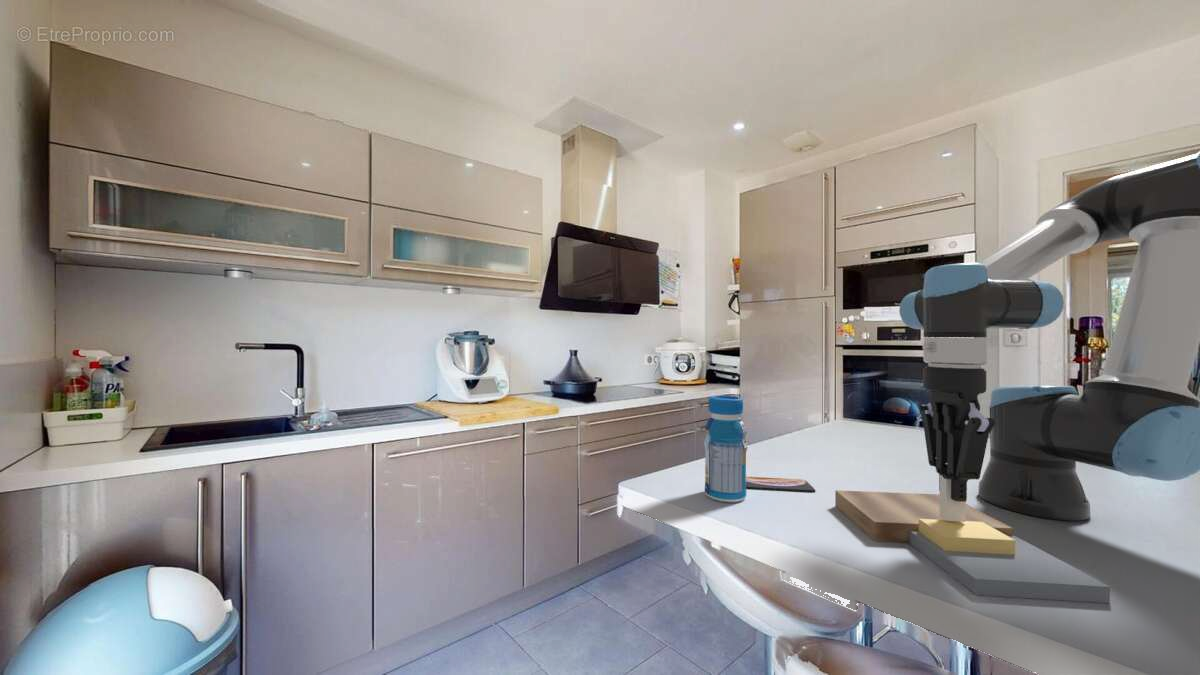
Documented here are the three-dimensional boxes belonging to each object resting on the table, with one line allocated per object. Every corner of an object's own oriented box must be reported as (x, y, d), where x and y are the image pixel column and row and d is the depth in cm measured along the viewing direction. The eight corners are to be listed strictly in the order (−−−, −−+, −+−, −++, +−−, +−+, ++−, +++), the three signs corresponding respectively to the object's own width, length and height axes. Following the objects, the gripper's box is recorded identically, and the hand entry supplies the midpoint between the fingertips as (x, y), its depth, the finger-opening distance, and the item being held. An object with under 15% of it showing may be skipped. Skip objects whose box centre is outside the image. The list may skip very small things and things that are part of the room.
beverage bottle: (721, 506, 81) (722, 401, 81) (695, 491, 89) (695, 395, 89) (756, 500, 84) (756, 399, 84) (728, 486, 92) (728, 393, 92)
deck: (948, 510, 79) (948, 494, 79) (1013, 547, 65) (1013, 528, 65) (835, 506, 81) (835, 490, 81) (874, 540, 67) (874, 521, 67)
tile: (982, 534, 65) (982, 521, 65) (1015, 554, 59) (1015, 540, 59) (918, 531, 66) (918, 518, 66) (945, 550, 60) (945, 536, 60)
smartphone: (736, 475, 98) (805, 479, 96) (736, 479, 98) (805, 483, 96) (742, 486, 91) (817, 490, 88) (742, 490, 91) (817, 494, 88)
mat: (1014, 548, 65) (1014, 535, 65) (1109, 603, 52) (1109, 586, 52) (909, 543, 67) (909, 530, 67) (975, 594, 53) (975, 578, 53)
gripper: (902, 363, 72) (901, 501, 72) (957, 368, 59) (955, 537, 59) (950, 363, 71) (949, 504, 71) (1016, 369, 59) (1015, 540, 59)
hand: (952, 519), depth 65 cm, fingers closed
